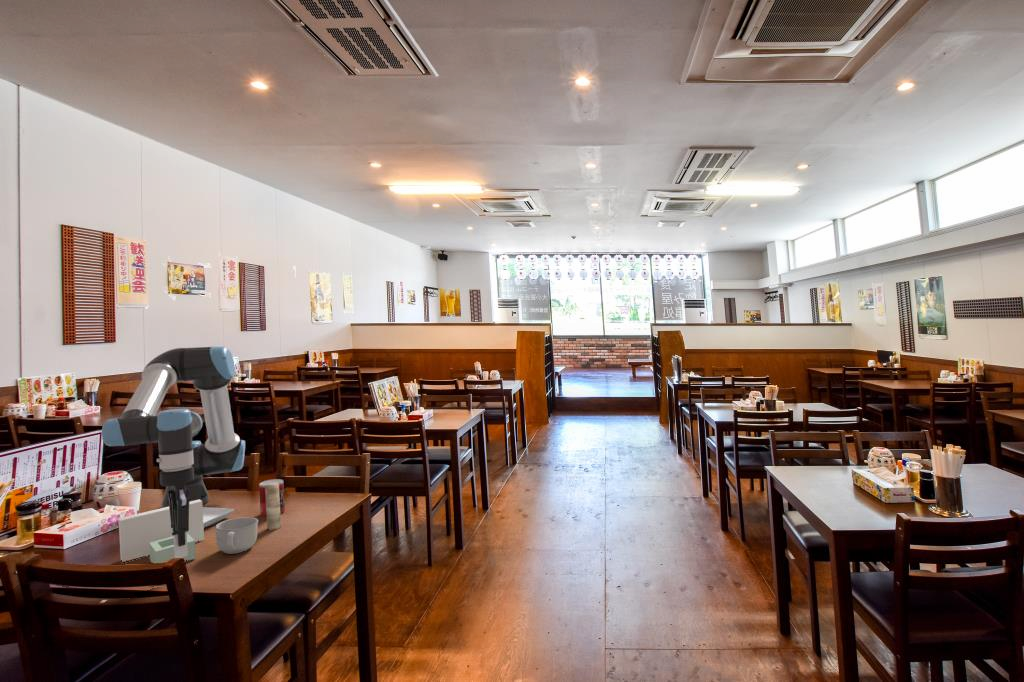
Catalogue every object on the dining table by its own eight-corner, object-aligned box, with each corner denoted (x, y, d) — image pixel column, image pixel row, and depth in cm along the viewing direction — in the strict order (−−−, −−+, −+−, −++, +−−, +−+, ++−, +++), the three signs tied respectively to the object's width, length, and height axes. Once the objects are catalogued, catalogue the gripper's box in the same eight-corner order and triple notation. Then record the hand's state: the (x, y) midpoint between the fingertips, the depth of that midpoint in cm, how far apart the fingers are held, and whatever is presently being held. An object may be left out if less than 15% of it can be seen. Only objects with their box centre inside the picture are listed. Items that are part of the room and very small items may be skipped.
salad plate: (236, 517, 172) (236, 507, 172) (183, 542, 152) (183, 531, 152) (186, 515, 177) (186, 505, 177) (128, 539, 157) (128, 528, 156)
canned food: (275, 517, 169) (274, 485, 169) (255, 516, 171) (253, 485, 171) (289, 509, 177) (288, 479, 177) (270, 509, 179) (268, 478, 178)
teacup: (228, 543, 149) (226, 516, 149) (265, 540, 150) (264, 514, 150) (203, 564, 135) (201, 535, 135) (244, 561, 136) (243, 532, 136)
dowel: (265, 528, 160) (263, 485, 160) (278, 524, 163) (276, 482, 163) (270, 531, 157) (267, 487, 157) (282, 527, 160) (280, 484, 160)
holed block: (150, 560, 138) (149, 542, 138) (187, 549, 145) (186, 532, 145) (156, 570, 132) (155, 551, 132) (195, 558, 138) (194, 540, 138)
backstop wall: (120, 560, 140) (118, 518, 140) (201, 537, 154) (199, 499, 154) (122, 563, 138) (120, 520, 138) (204, 539, 152) (202, 501, 152)
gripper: (154, 467, 133) (158, 554, 133) (165, 475, 124) (169, 569, 124) (187, 461, 138) (191, 545, 138) (199, 468, 129) (204, 558, 129)
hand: (181, 556), depth 131 cm, fingers closed
